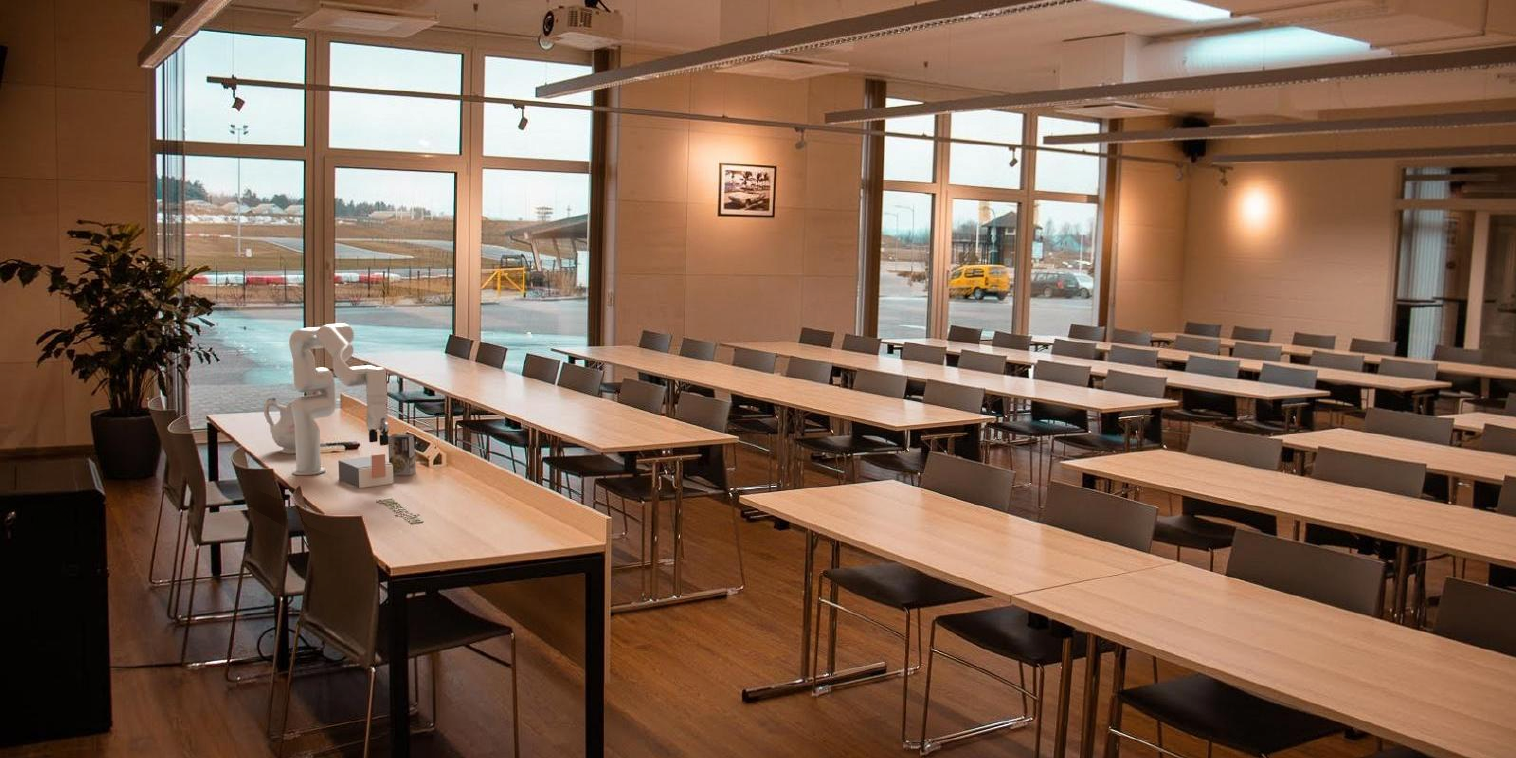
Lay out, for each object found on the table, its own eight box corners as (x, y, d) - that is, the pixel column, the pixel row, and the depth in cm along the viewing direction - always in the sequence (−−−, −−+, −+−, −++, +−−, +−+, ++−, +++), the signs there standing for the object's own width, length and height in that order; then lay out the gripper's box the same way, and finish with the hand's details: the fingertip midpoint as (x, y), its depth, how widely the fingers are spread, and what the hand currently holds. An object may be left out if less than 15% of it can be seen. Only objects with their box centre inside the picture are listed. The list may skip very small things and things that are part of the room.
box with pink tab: (341, 480, 477) (340, 448, 475) (374, 475, 486) (373, 444, 484) (362, 489, 461) (361, 456, 459) (396, 484, 470) (395, 452, 468)
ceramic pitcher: (273, 459, 522) (273, 404, 517) (259, 449, 536) (259, 395, 532) (323, 454, 535) (323, 400, 531) (308, 444, 550) (308, 391, 545)
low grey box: (339, 480, 478) (338, 460, 477) (373, 475, 487) (372, 456, 486) (358, 488, 464) (357, 468, 463) (392, 483, 473) (392, 463, 472)
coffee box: (416, 472, 494) (415, 433, 492) (410, 475, 488) (409, 436, 486) (394, 471, 495) (393, 433, 493) (388, 475, 489) (387, 436, 487)
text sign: (396, 499, 447) (374, 502, 443) (396, 497, 447) (374, 499, 443) (428, 522, 414) (405, 525, 410) (428, 520, 414) (405, 523, 409)
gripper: (358, 398, 465) (360, 441, 467) (376, 402, 452) (378, 447, 454) (377, 396, 470) (378, 439, 472) (395, 400, 457) (397, 445, 459)
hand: (378, 443), depth 463 cm, fingers open, 9 cm apart
